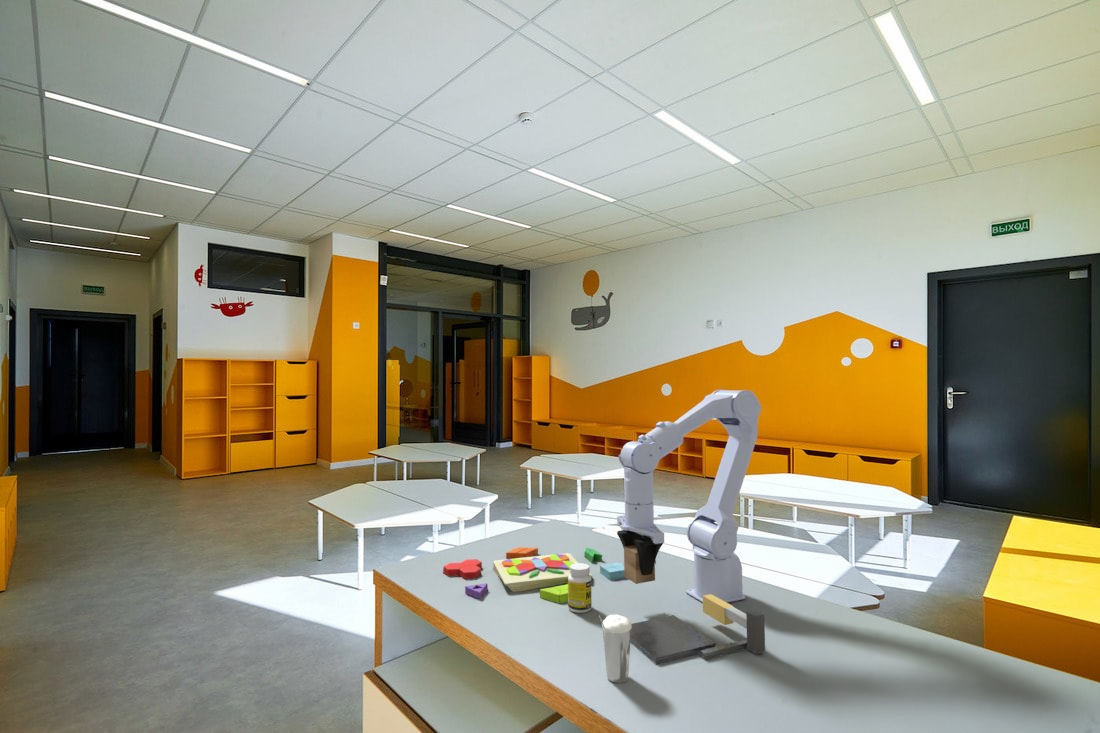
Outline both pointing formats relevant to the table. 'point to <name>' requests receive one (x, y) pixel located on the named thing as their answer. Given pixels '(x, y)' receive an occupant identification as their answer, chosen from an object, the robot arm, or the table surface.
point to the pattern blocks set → (531, 572)
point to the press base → (676, 640)
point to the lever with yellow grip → (738, 620)
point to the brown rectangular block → (635, 566)
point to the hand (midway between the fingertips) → (640, 570)
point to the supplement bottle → (579, 588)
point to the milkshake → (617, 647)
